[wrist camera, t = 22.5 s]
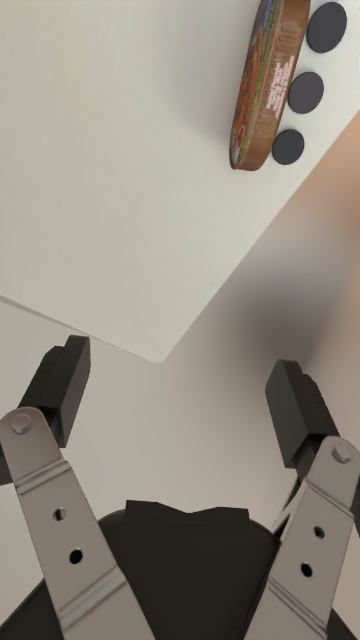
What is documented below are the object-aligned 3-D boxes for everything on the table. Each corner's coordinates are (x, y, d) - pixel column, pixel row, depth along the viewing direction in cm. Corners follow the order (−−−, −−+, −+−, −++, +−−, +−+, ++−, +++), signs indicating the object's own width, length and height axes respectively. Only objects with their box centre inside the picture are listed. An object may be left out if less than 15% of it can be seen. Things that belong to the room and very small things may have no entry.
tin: (262, -18, 29) (286, -51, 22) (294, -11, 29) (329, -41, 22) (224, 160, 38) (233, 176, 31) (249, 165, 38) (264, 181, 31)
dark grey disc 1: (308, 133, 36) (309, 133, 36) (295, 166, 38) (296, 167, 38) (278, 126, 36) (279, 126, 35) (267, 160, 38) (268, 161, 37)
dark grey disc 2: (327, 75, 33) (329, 75, 32) (313, 116, 35) (315, 116, 35) (294, 69, 33) (296, 68, 32) (282, 110, 35) (284, 110, 34)
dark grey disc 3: (350, 6, 30) (353, 5, 29) (334, 55, 32) (337, 55, 31) (314, 0, 30) (316, -2, 29) (301, 49, 32) (302, 49, 31)
